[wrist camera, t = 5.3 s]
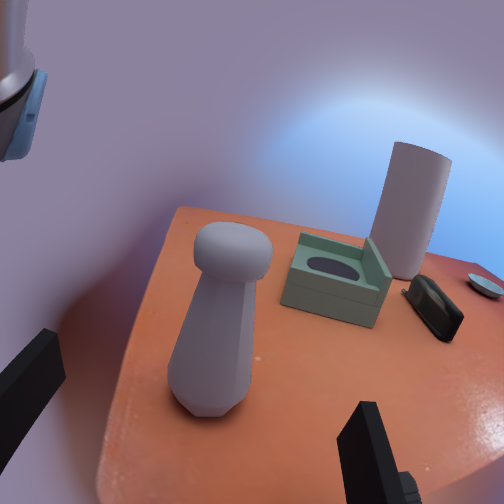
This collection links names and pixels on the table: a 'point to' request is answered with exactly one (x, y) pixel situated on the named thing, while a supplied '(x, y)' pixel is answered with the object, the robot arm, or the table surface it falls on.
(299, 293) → the green tray with hole
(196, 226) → the table surface
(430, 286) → the black stapler
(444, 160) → the cylinder vase
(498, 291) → the saucer
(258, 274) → the salt shaker
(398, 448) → the table surface
